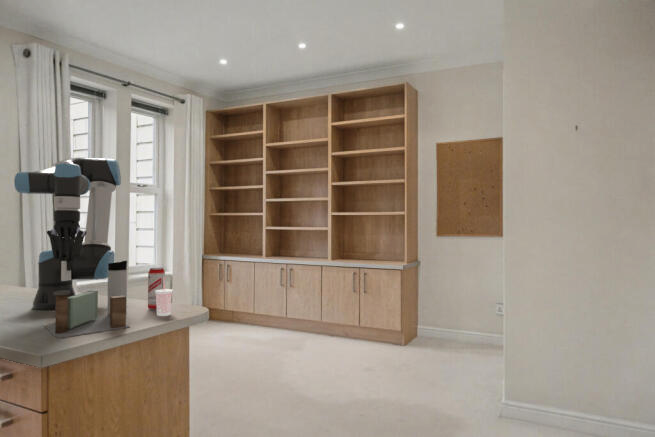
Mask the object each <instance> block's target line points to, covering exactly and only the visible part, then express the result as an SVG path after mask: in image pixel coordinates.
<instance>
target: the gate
mask: <svg viewBox="0 0 655 437" xmlns="http://www.w3.org/2000/svg"><path fill="white" fill-rule="evenodd" d="M98 296H99V291H98V290H87V291H86V292H81V293H78V294H75V295H74V296H71V297H68V329H71V328H73V327H74V326H77V325H79V324H82V323H85V322H87V321H90V320H92V319H97V318H99V317H98V316H99V315H98V314H99V312H98V310H99V309H98V308H99V306H98V305H99V303H98V302H99V301H98V300H99V297H98Z"/></svg>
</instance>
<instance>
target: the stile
mask: <svg viewBox="0 0 655 437" xmlns="http://www.w3.org/2000/svg"><path fill="white" fill-rule="evenodd" d="M126 311H127V310H126V296H114V297H110V327H111V328H119V327H125V326H126V325H127V313H126Z"/></svg>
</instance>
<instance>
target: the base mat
mask: <svg viewBox="0 0 655 437" xmlns="http://www.w3.org/2000/svg"><path fill="white" fill-rule="evenodd" d="M44 327H45V328H46V329H47V330H48V331H49V332H50V333H51V334H53V336H54V337H56V338H57V339H65V338H70V337H71V338H72V337H79V336H84V335H85V336H86V335H89V334H97V333H103V332H111V331H116V330H122V329H129V328H131V327H130V325H128V324H126V326H125V327H119V328H111V327H110V316H104V317H98V318H97V319H92V320H90V321H87V322H85V323H82V324H79V325H77V326H74V327H73V328H71V329H68V332H66V333H61V334H57V333H55V323H51V324H45V325H44Z"/></svg>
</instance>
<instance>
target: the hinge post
mask: <svg viewBox="0 0 655 437" xmlns="http://www.w3.org/2000/svg"><path fill="white" fill-rule="evenodd" d="M68 294H70V291H68V290H64V291H55V292H54V293H53V295H56V309H55V323H54V324H55V333H57V334H61V333H66V332H68Z"/></svg>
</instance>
